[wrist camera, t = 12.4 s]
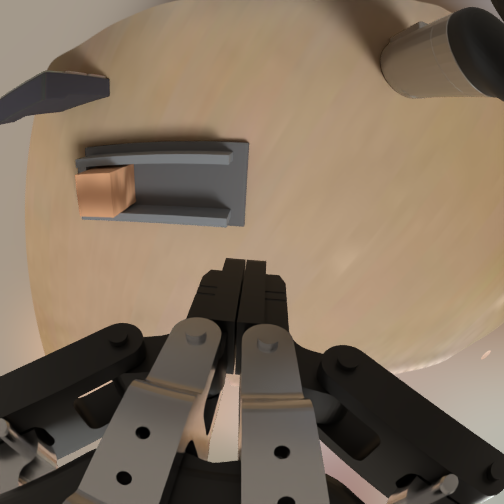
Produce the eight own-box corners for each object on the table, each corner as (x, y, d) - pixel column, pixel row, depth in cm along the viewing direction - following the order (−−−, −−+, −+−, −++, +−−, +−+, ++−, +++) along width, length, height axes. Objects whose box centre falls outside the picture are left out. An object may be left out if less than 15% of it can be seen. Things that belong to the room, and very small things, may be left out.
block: (101, 164, 36) (75, 174, 30) (133, 163, 36) (109, 172, 30) (104, 201, 39) (80, 216, 33) (135, 201, 39) (113, 217, 33)
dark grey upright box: (110, 74, 31) (45, 65, 17) (110, 99, 32) (44, 99, 19) (60, 92, 31) (-4, 96, 18) (60, 115, 33) (-4, 125, 20)
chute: (87, 147, 36) (70, 151, 32) (249, 142, 35) (246, 145, 31) (94, 216, 41) (78, 226, 37) (244, 224, 41) (241, 237, 36)
